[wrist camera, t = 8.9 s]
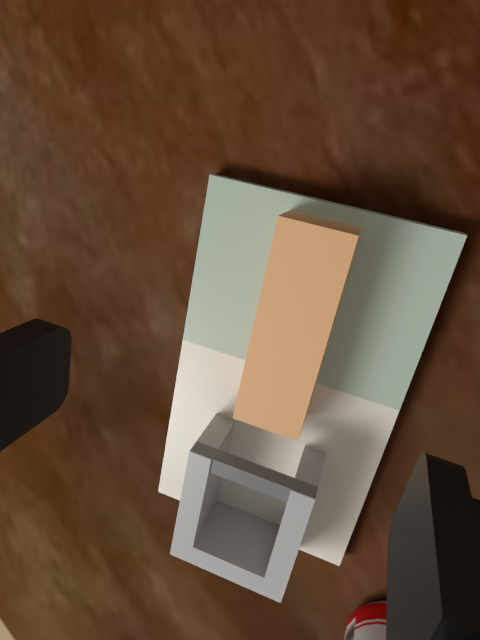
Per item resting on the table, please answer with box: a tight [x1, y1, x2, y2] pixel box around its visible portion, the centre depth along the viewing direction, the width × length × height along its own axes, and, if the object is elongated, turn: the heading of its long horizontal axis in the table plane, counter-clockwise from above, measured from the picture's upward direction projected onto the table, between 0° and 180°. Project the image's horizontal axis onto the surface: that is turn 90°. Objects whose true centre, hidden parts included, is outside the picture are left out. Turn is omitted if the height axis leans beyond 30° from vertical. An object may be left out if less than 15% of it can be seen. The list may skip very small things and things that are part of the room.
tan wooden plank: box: [233, 210, 362, 441], centre depth 26 cm, size 4×12×3 cm, turn 169°
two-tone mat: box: [158, 174, 467, 603], centre depth 27 cm, size 14×23×6 cm, turn 169°
